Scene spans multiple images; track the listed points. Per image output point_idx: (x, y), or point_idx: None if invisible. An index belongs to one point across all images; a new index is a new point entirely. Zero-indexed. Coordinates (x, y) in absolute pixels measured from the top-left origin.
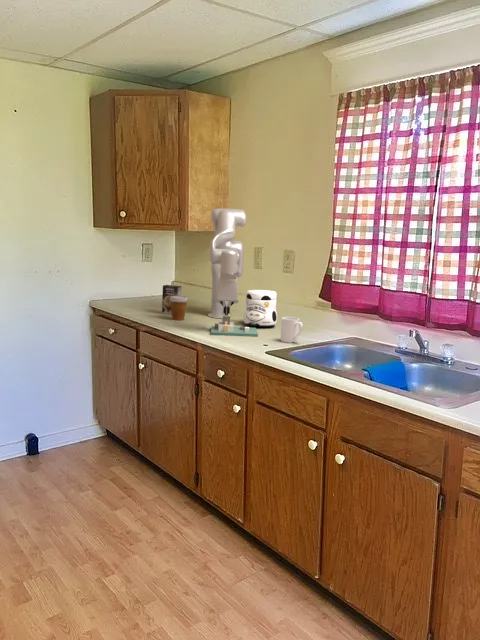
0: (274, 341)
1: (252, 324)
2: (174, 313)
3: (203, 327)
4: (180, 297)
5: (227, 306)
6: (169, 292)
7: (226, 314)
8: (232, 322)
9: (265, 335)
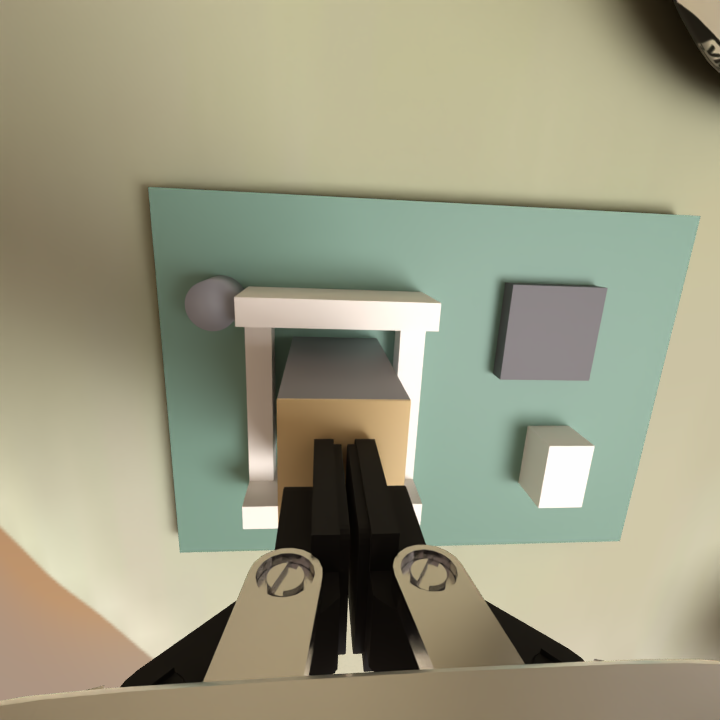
0: (678, 652)
1: (716, 66)
2: None
3: (44, 125)
4: None
5: (369, 650)
6: None
7: (346, 424)
8: (429, 330)
9: (686, 466)
